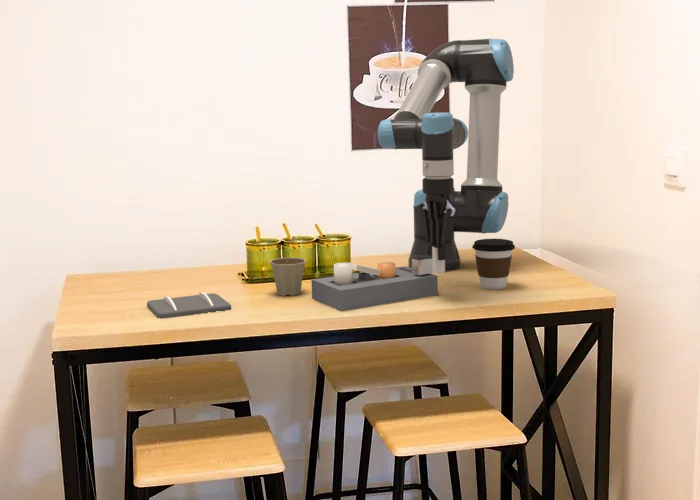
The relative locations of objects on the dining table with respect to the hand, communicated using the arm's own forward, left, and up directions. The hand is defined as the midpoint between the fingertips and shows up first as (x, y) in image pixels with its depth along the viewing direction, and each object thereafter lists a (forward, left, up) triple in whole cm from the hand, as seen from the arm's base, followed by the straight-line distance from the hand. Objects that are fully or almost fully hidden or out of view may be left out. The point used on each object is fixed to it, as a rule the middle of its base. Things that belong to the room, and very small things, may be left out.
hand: (438, 272), depth 227 cm
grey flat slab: (-29, -55, -8) cm, 62 cm away
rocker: (-11, -15, +1) cm, 19 cm away
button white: (-11, -21, -3) cm, 24 cm away
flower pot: (-28, -28, -7) cm, 40 cm away
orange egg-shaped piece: (-11, -8, -5) cm, 15 cm away
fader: (-7, 0, -1) cm, 7 cm away
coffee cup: (-3, +19, -7) cm, 21 cm away
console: (-11, -12, -7) cm, 18 cm away
